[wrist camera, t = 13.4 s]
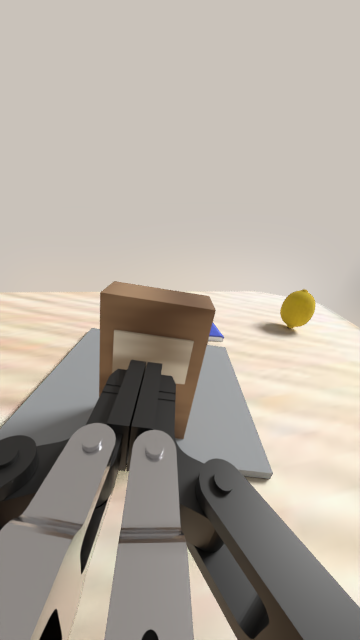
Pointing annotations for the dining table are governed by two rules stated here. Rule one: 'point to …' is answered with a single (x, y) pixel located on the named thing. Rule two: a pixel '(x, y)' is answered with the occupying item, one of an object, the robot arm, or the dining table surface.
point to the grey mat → (199, 440)
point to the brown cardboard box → (156, 336)
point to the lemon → (297, 308)
